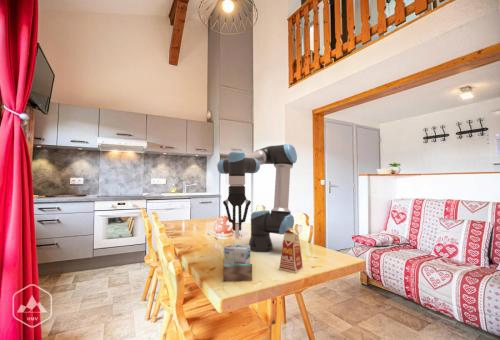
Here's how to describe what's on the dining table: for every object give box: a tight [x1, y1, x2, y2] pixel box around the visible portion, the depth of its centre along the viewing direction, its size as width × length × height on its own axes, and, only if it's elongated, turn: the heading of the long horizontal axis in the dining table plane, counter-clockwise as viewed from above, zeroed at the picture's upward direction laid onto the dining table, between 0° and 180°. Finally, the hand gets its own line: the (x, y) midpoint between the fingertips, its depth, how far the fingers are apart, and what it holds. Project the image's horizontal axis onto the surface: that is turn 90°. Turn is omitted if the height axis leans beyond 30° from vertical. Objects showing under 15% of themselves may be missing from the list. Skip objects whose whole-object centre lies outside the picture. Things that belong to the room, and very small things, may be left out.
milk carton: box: [278, 227, 304, 274], centre depth 119 cm, size 9×9×20 cm
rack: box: [223, 263, 253, 283], centre depth 118 cm, size 12×28×7 cm, turn 5°
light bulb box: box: [223, 243, 251, 266], centre depth 111 cm, size 11×7×11 cm, turn 72°
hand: (237, 237), depth 112 cm, fingers closed
